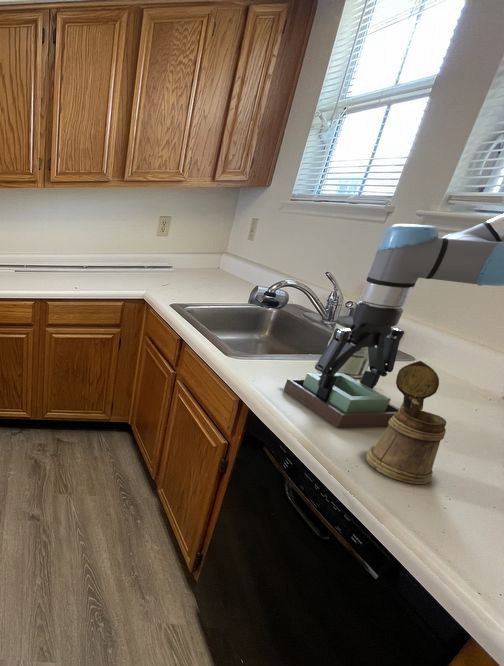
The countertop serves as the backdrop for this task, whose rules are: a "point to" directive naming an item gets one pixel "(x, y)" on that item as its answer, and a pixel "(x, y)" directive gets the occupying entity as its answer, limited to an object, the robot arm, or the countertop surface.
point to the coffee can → (359, 359)
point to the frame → (349, 394)
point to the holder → (335, 415)
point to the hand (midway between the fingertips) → (340, 399)
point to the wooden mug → (410, 430)
